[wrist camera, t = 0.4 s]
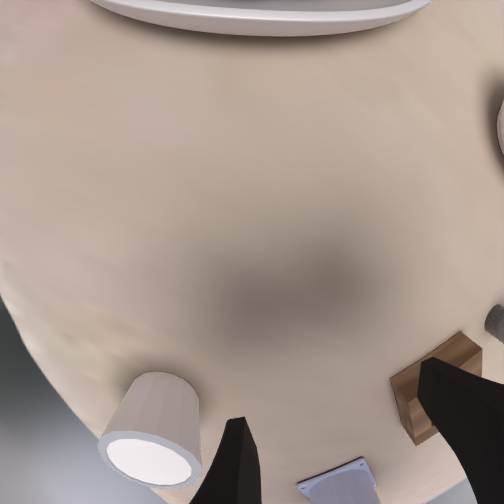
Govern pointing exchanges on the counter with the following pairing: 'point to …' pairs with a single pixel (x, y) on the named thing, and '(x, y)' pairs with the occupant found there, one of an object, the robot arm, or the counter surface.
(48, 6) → the counter surface
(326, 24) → the bowl
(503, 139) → the lidded jar
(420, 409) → the socket block
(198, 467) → the shot glass
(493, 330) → the pin
